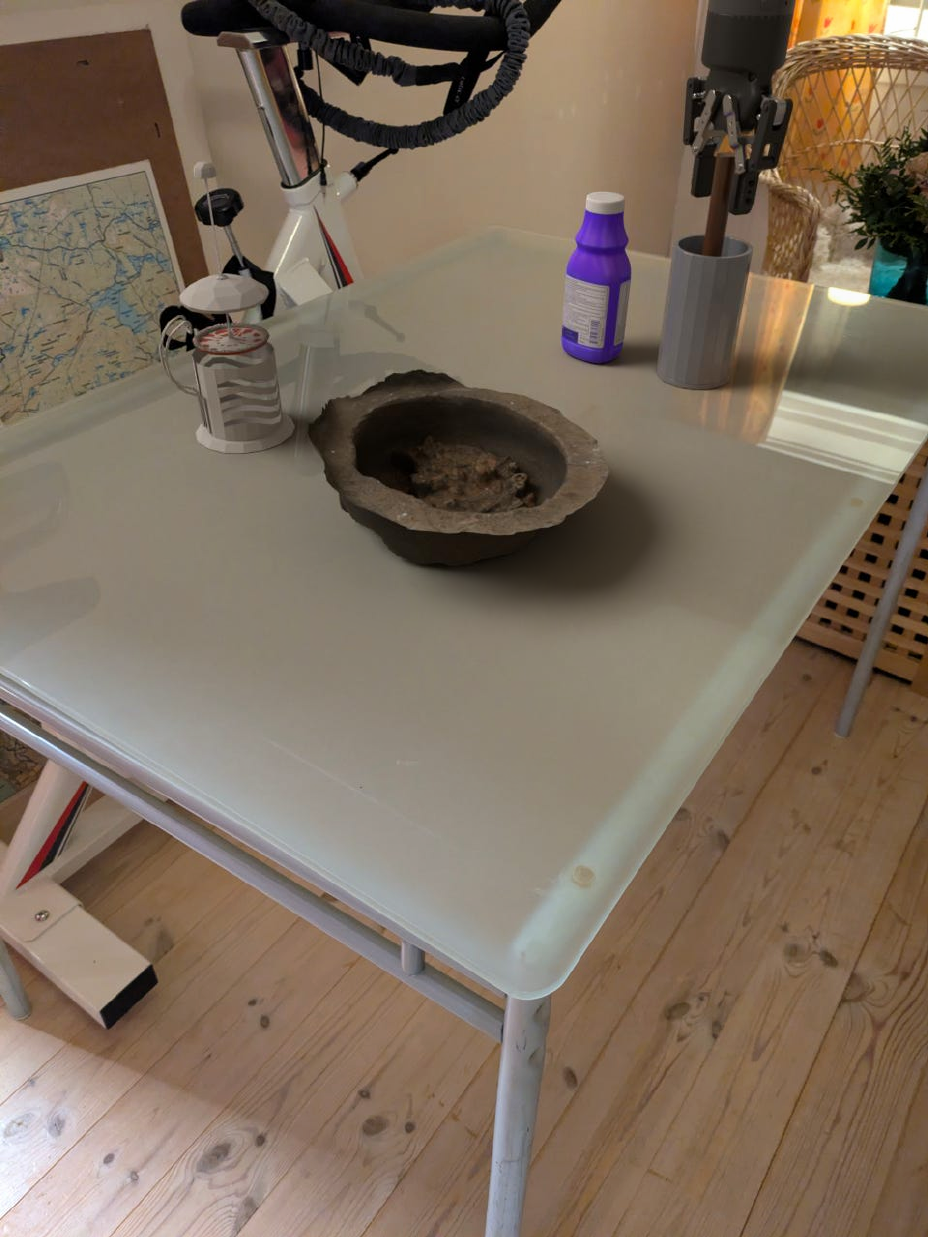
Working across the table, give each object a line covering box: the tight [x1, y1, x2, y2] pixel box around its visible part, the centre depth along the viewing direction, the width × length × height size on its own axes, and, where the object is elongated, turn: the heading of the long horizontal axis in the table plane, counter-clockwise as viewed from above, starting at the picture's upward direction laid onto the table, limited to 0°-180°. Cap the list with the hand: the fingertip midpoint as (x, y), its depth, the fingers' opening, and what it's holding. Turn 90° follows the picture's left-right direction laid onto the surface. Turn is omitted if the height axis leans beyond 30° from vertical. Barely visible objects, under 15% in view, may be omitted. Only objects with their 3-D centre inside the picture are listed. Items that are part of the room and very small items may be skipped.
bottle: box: [560, 191, 632, 364], centre depth 105 cm, size 7×6×17 cm
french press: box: [158, 160, 296, 454], centre depth 88 cm, size 10×12×25 cm
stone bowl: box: [307, 368, 610, 567], centre depth 80 cm, size 25×25×9 cm
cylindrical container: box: [656, 233, 754, 390], centre depth 102 cm, size 8×8×14 cm
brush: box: [702, 151, 736, 257], centre depth 99 cm, size 4×4×22 cm
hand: (719, 203), depth 95 cm, fingers open, 6 cm apart
